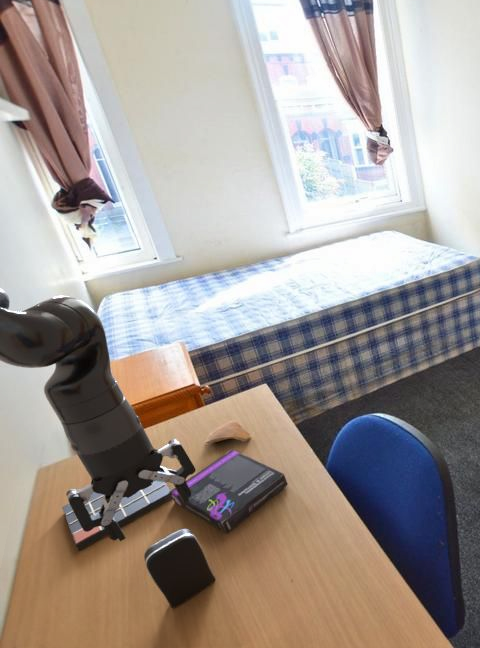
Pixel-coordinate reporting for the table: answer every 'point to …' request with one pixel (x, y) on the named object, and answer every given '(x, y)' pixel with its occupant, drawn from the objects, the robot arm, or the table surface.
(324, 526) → the table surface
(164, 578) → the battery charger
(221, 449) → the table surface
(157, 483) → the board
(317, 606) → the table surface
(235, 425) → the pottery shard
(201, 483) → the box
